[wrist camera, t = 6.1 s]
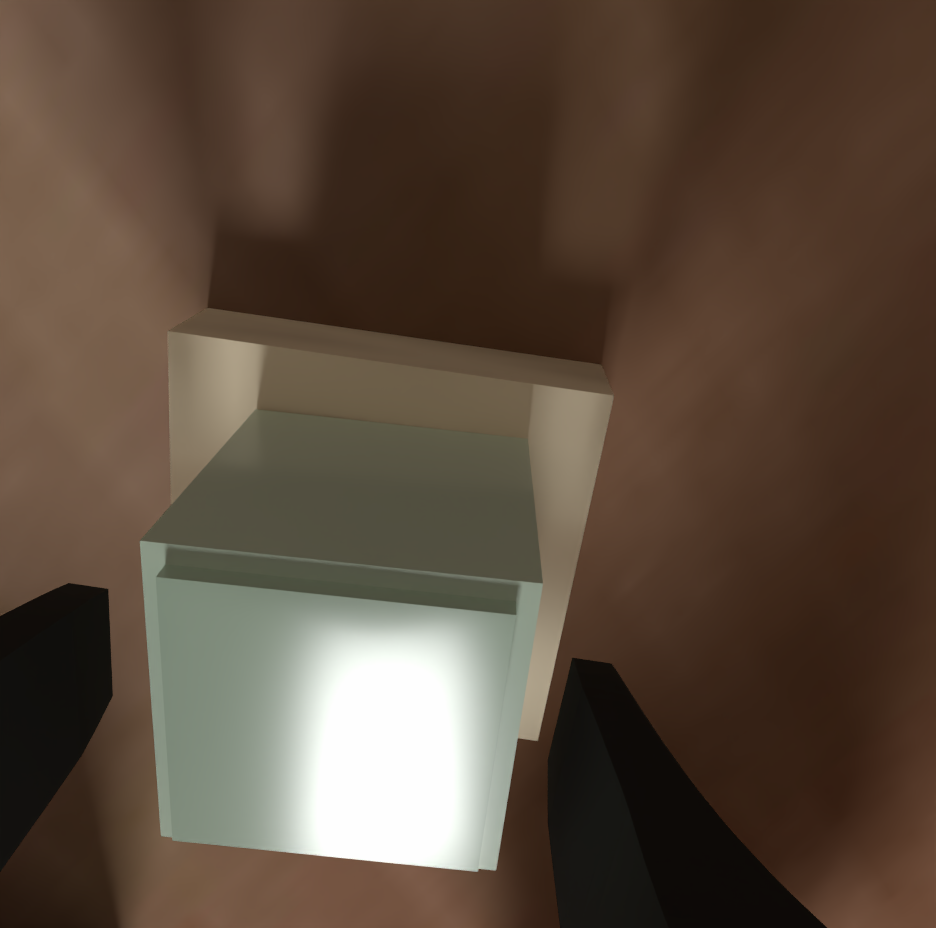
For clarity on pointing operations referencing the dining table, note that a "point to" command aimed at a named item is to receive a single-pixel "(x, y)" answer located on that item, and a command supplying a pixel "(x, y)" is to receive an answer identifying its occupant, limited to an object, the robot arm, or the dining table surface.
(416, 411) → the maple block
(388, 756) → the sage box
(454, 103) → the dining table surface
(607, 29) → the dining table surface
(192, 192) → the dining table surface
